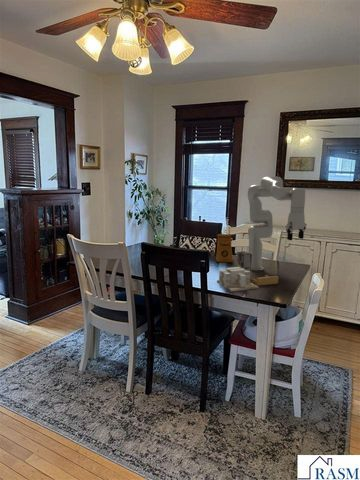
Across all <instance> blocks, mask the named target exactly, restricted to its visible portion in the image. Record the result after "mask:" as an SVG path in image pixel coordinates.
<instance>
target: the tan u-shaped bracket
mask: <svg viewBox="0 0 360 480" xmlns="http://www.w3.org/2000/svg"><path fill="white" fill-rule="evenodd" d="M250 282H251V283H253V284H255V285H257V286H258V285H259V286H265V285H275V284H278V283H279V276H278V275H273V276H269V274H264V276H263V277H261V276H260V277H256V279H255V278H253V277H252V276H251V277H250Z"/></svg>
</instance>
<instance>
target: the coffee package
mask: <svg viewBox="0 0 360 480" xmlns="http://www.w3.org/2000/svg"><path fill="white" fill-rule="evenodd" d="M216 237H217V240H216V241H217V243H216V244H217V245H216V255H215V261H216V262H219V263H232V261H233V247H232V234H229V233H228V234H227V233H226V234H224V233H221V234H220V233H217V235H216Z"/></svg>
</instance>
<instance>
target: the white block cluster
mask: <svg viewBox="0 0 360 480" xmlns="http://www.w3.org/2000/svg"><path fill="white" fill-rule="evenodd" d="M218 272H219V275H218V279H217V280H216V283H218V284H220V285H221V286H222V287H224V288H226V289H227V290H228V291H229V292H238V291H246V290H255V289H256V290H257V289H259V286H258V285H256V284H255V283H253V282H251V281H250V271H248V270H246V269H244V268H240V267H236V266H233V267H226V268H225V269H219V271H218Z"/></svg>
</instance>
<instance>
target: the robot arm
mask: <svg viewBox="0 0 360 480" xmlns="http://www.w3.org/2000/svg"><path fill="white" fill-rule="evenodd" d="M271 197H272V198H273V199H275V200H278V201H290V209H289V210H290V211H289V213H288V217H287V222H286V223H287V224H286V225H285V231H286V233H287V235H286V236H287V237H286V239H287V240H289V241H293V235H294V234H293V232H294V231H298V237H297V238H298V239H300V240H302V239H304V234H305V232H306V231H305V230H306V228H307V223H305V222H306V221H305V220H306V219H305V203H306V189H305V188H297V187H284V180H283V179H282V177H280V176H265V177H262V178H261V180H260V184H253V185H250V186H249V188H248V189H247V199H248V203H249V221H250V222H251V223H252V224H254V225H251V226H249V228H247V229H248V230H247V234H248V253H250V254H252V260H251V271H263V270H264V266H262V262H263V261H262V260H263V259H262V258H263V243H262V242H263V241H261V239H269V238H271V237H272V236H273V234H274V233H273V230H274V228H273V226H274V225H273V213H272V212H271V211H270V210H269V209H263V205H262V201H261V199H260V198H271Z"/></svg>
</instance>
